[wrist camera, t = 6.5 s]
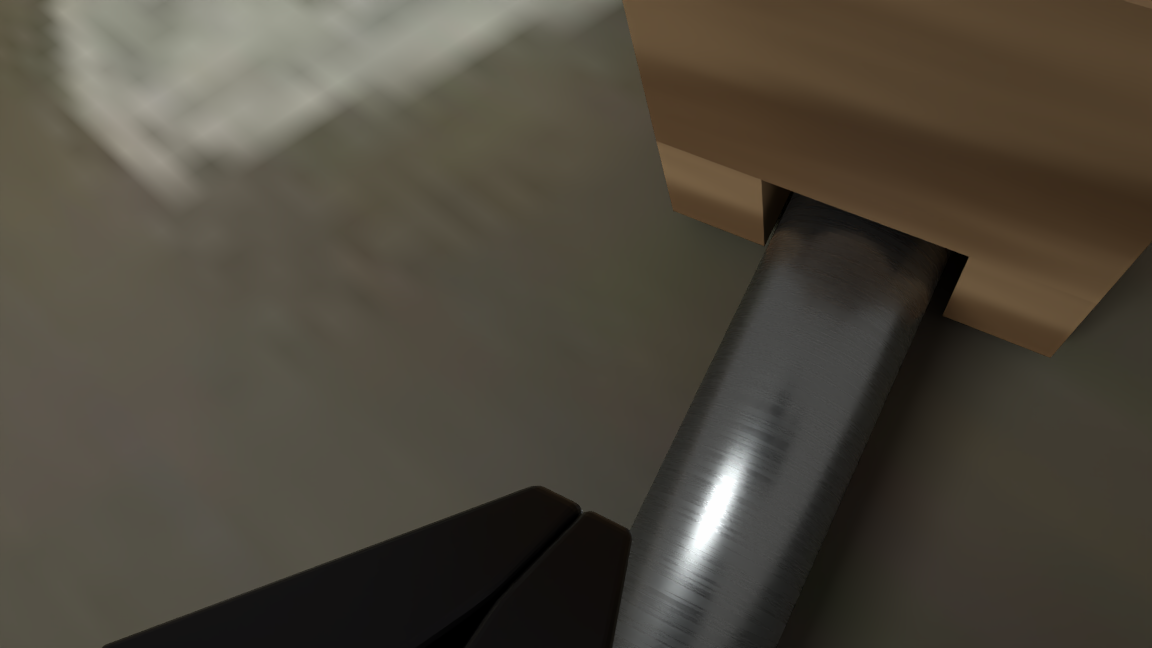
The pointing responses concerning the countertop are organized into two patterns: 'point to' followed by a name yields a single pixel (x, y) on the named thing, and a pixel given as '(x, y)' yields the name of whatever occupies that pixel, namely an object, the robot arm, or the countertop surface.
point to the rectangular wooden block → (921, 133)
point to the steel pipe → (775, 432)
